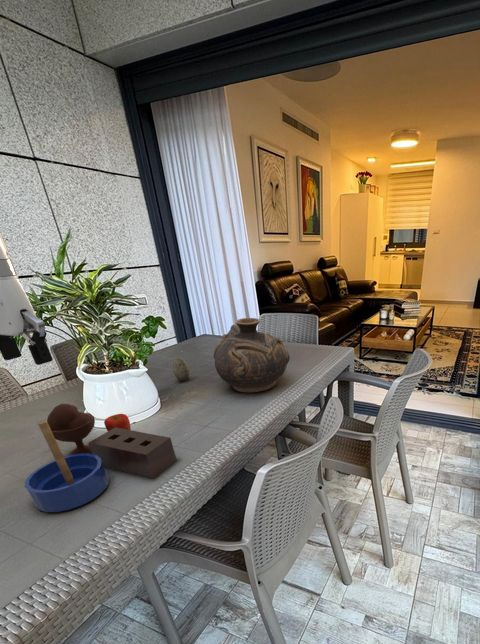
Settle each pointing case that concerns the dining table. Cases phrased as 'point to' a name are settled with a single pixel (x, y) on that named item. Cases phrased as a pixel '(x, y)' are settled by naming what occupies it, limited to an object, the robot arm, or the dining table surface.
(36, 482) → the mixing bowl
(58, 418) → the ice cream bowl
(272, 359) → the vessel
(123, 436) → the block
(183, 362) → the decorative egg
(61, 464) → the cooking stick
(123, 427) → the apple
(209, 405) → the dining table surface
